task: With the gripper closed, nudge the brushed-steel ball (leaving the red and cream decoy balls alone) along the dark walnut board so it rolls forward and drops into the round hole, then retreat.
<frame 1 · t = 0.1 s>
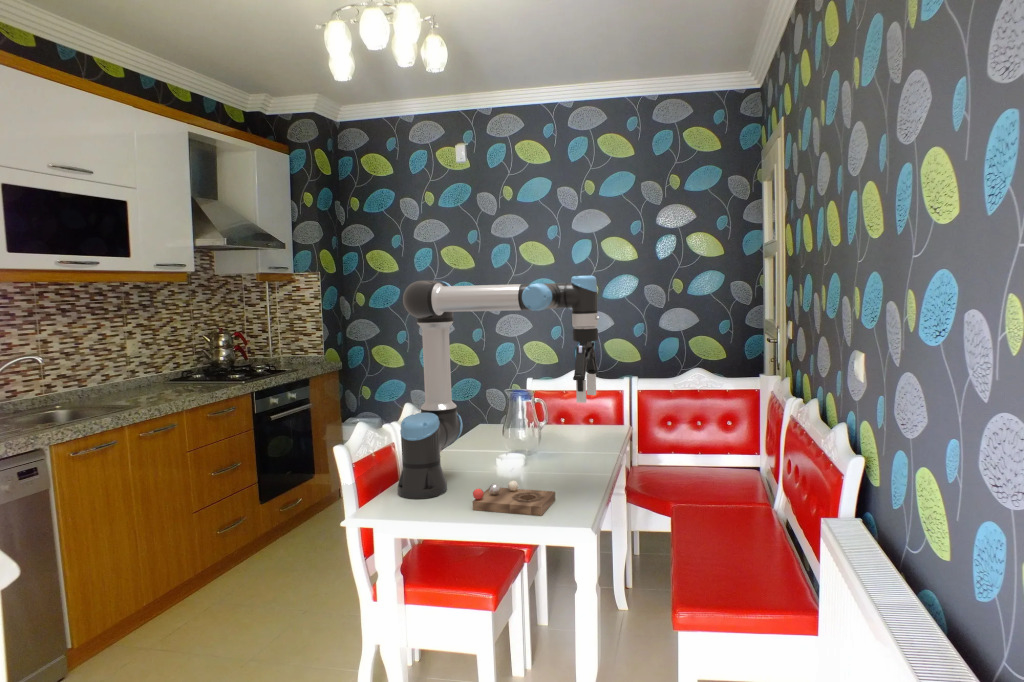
hand: (586, 398, 202), 28 cm above the table, fingers open, 13 cm apart
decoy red: (478, 494, 189), point 4 cm above the table, touching board
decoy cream: (513, 485, 196), point 4 cm above the table, touching board
steel ball: (494, 489, 193), point 4 cm above the table, touching board
board: (514, 504, 191), on the table
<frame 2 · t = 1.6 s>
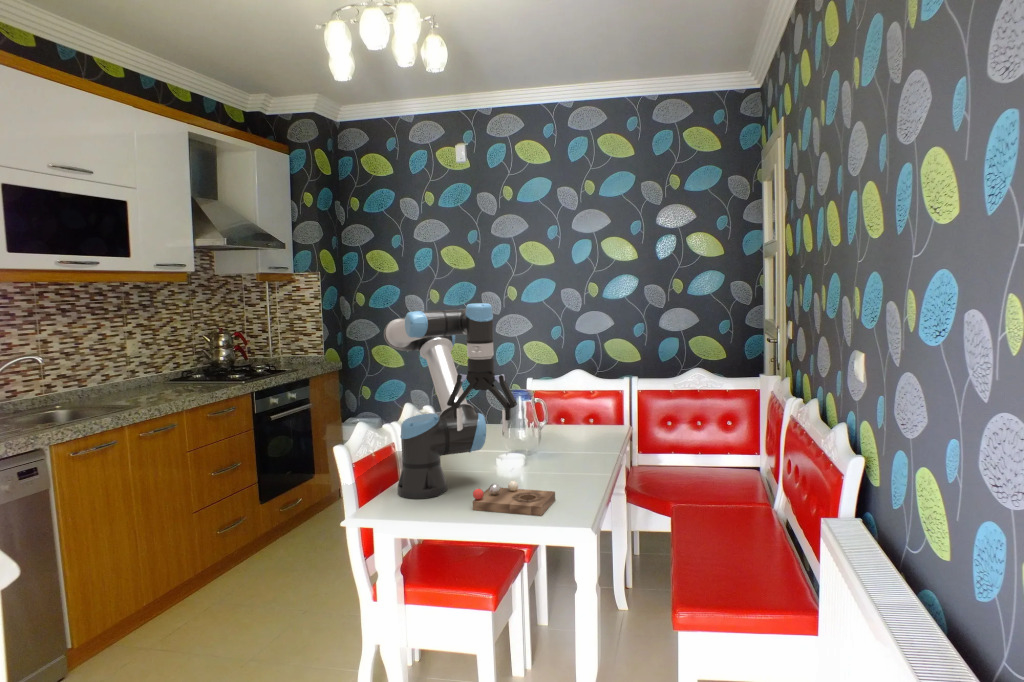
hand: (482, 430, 194), 21 cm above the table, fingers open, 13 cm apart
nothing on the table moved.
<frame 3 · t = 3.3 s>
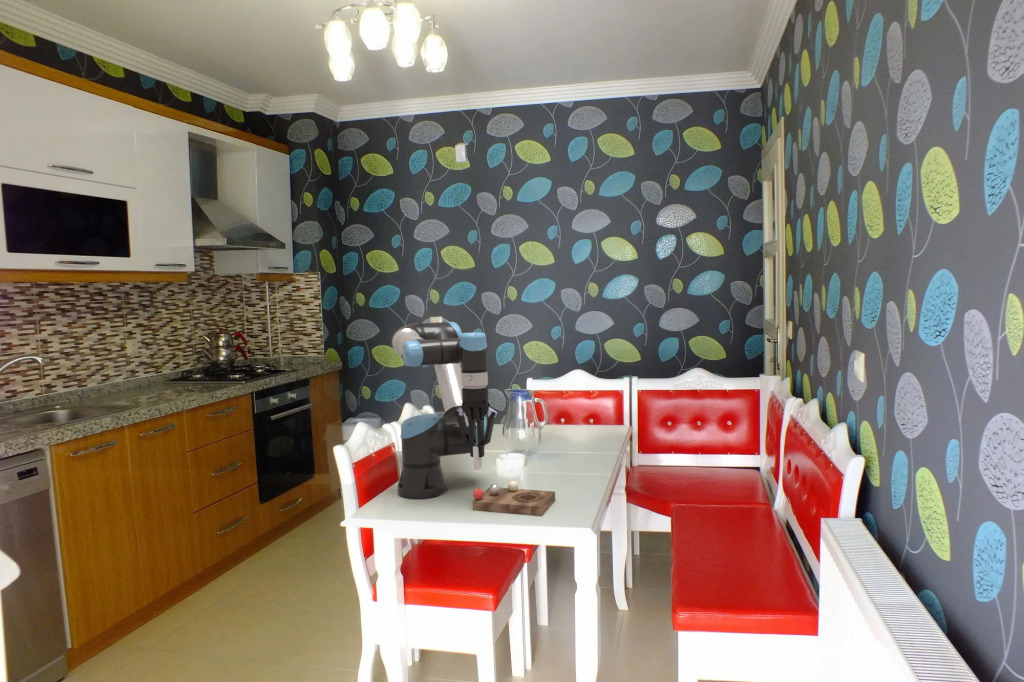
hand: (477, 468, 194), 10 cm above the table, fingers closed
nothing on the table moved.
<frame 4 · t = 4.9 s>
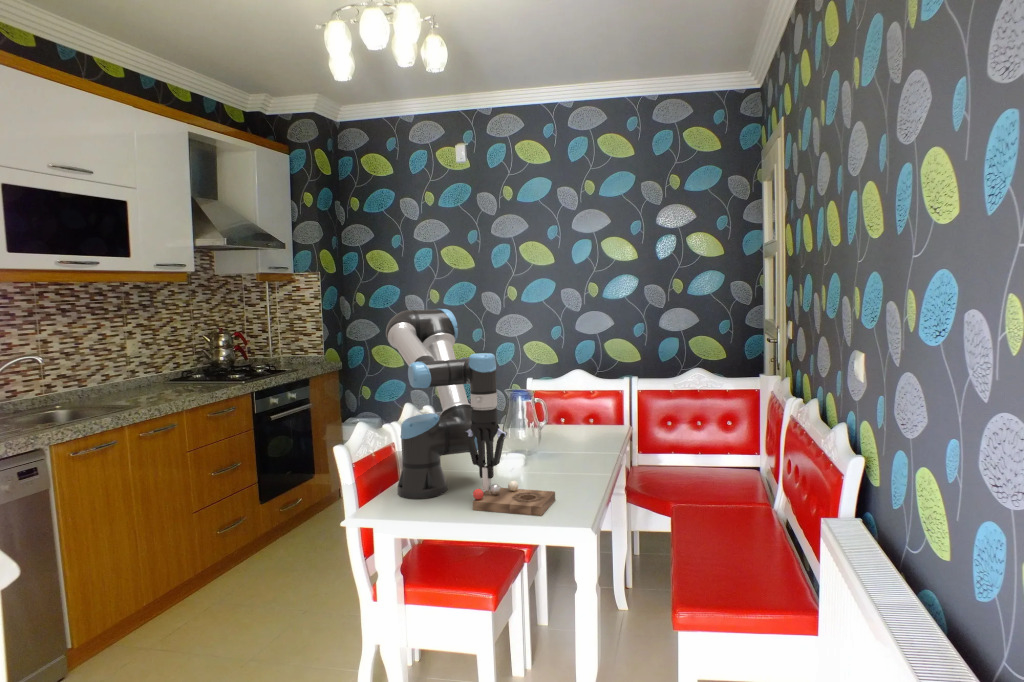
hand: (487, 489, 193), 4 cm above the table, fingers closed
steel ball: (495, 489, 193), point 4 cm above the table, tilted 6°, touching board
everything else where it was.
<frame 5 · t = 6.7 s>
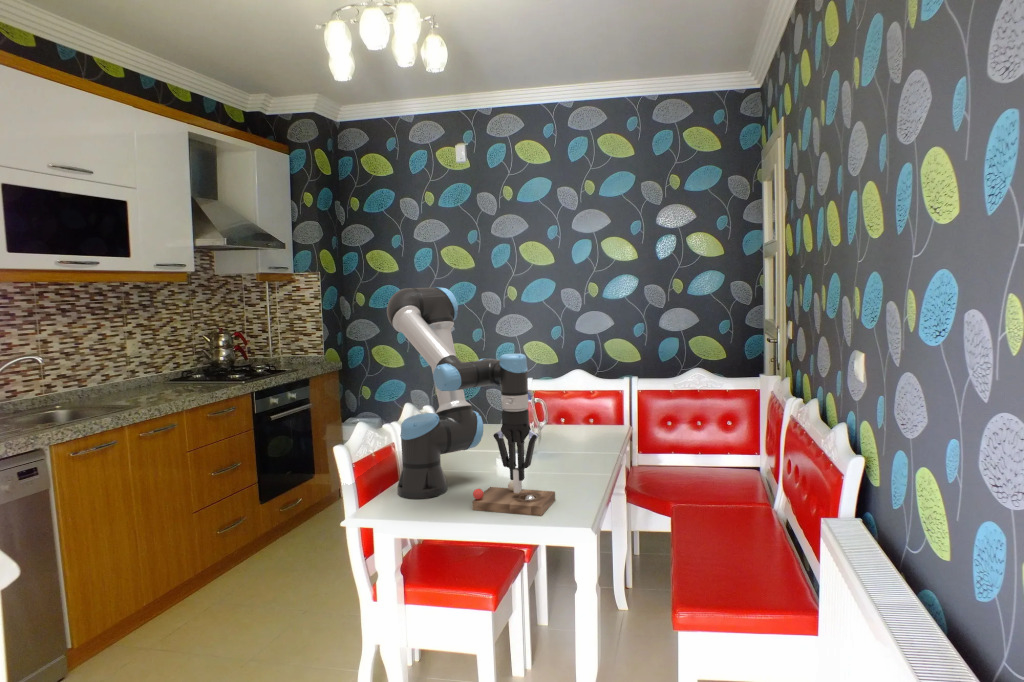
hand: (517, 491, 191), 4 cm above the table, fingers closed
steel ball: (530, 500, 190), point 2 cm above the table, tilted 63°
everything else where it was.
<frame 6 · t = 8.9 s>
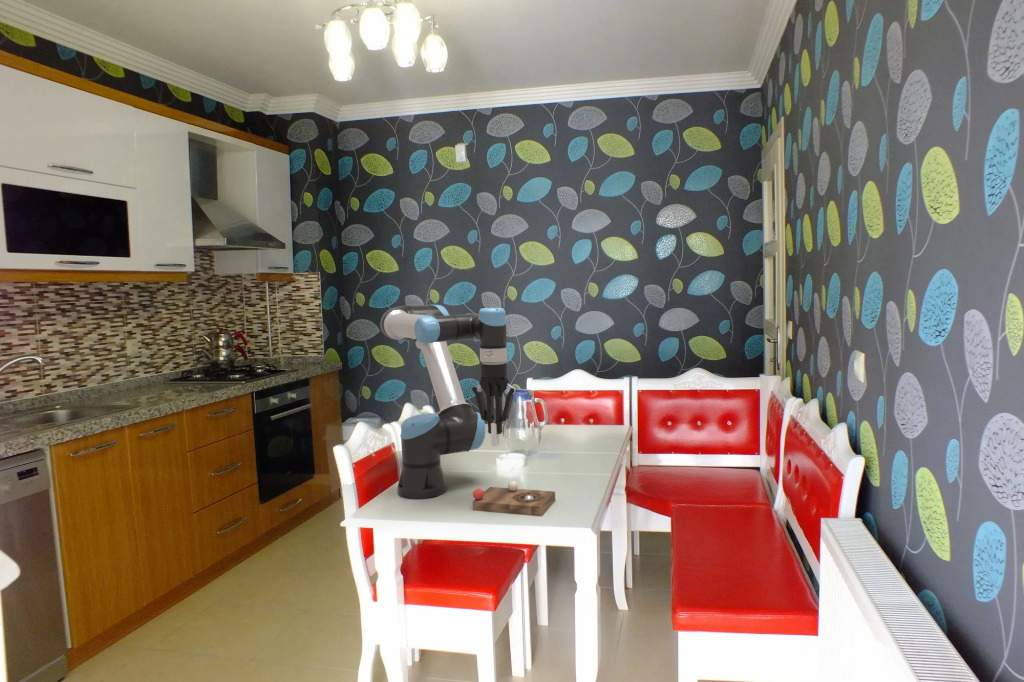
hand: (495, 444, 192), 17 cm above the table, fingers closed
steel ball: (529, 500, 190), point 2 cm above the table, tilted 53°
everything else where it was.
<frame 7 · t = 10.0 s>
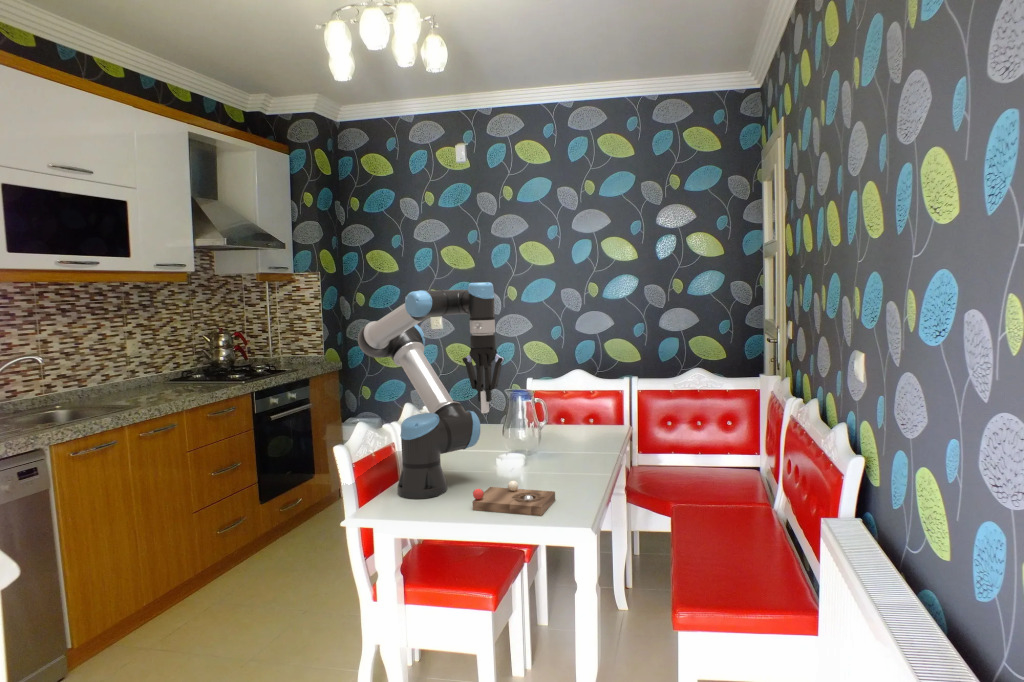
hand: (485, 412, 203), 24 cm above the table, fingers closed
steel ball: (528, 500, 190), point 2 cm above the table, tilted 47°
everything else where it was.
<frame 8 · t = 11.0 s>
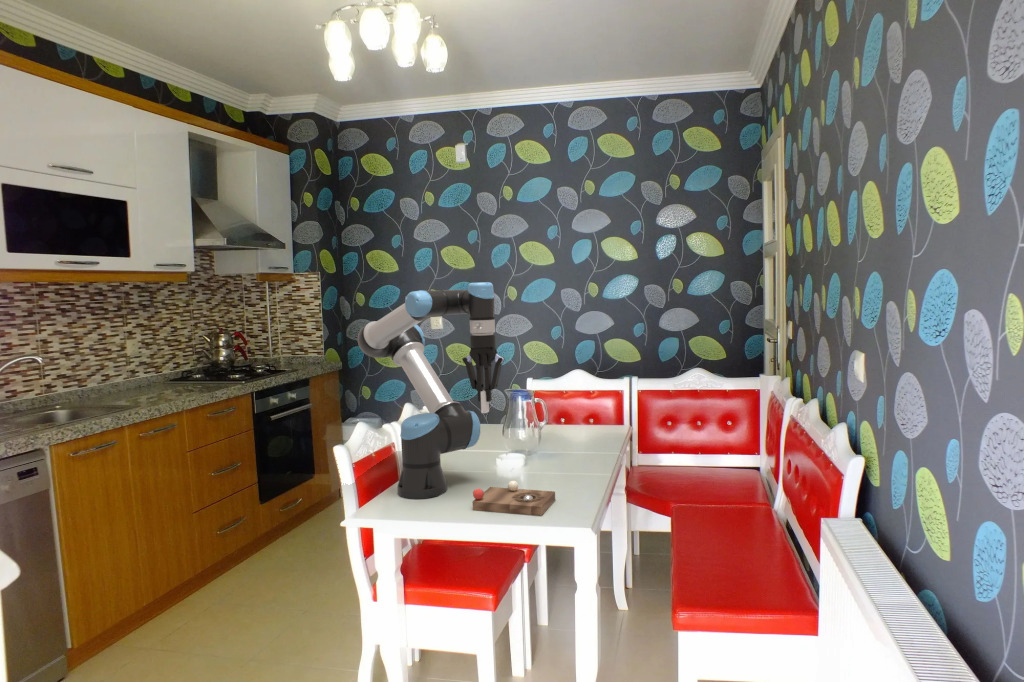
hand: (485, 412, 203), 24 cm above the table, fingers closed
nothing on the table moved.
at the end: steel ball 0.1 cm from the target spot in the board, point 1.6 cm above the board's base; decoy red moved 0.1 cm from its start; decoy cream moved 0.1 cm from its start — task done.
